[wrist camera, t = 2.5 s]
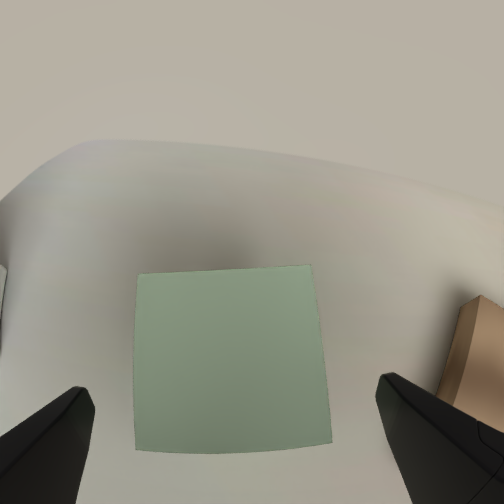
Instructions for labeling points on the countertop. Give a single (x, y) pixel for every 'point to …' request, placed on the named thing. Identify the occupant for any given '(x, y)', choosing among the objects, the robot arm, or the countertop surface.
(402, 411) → the robot arm
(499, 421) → the walnut plinth
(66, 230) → the countertop surface
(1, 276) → the supplement box
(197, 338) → the sage block
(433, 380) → the countertop surface
